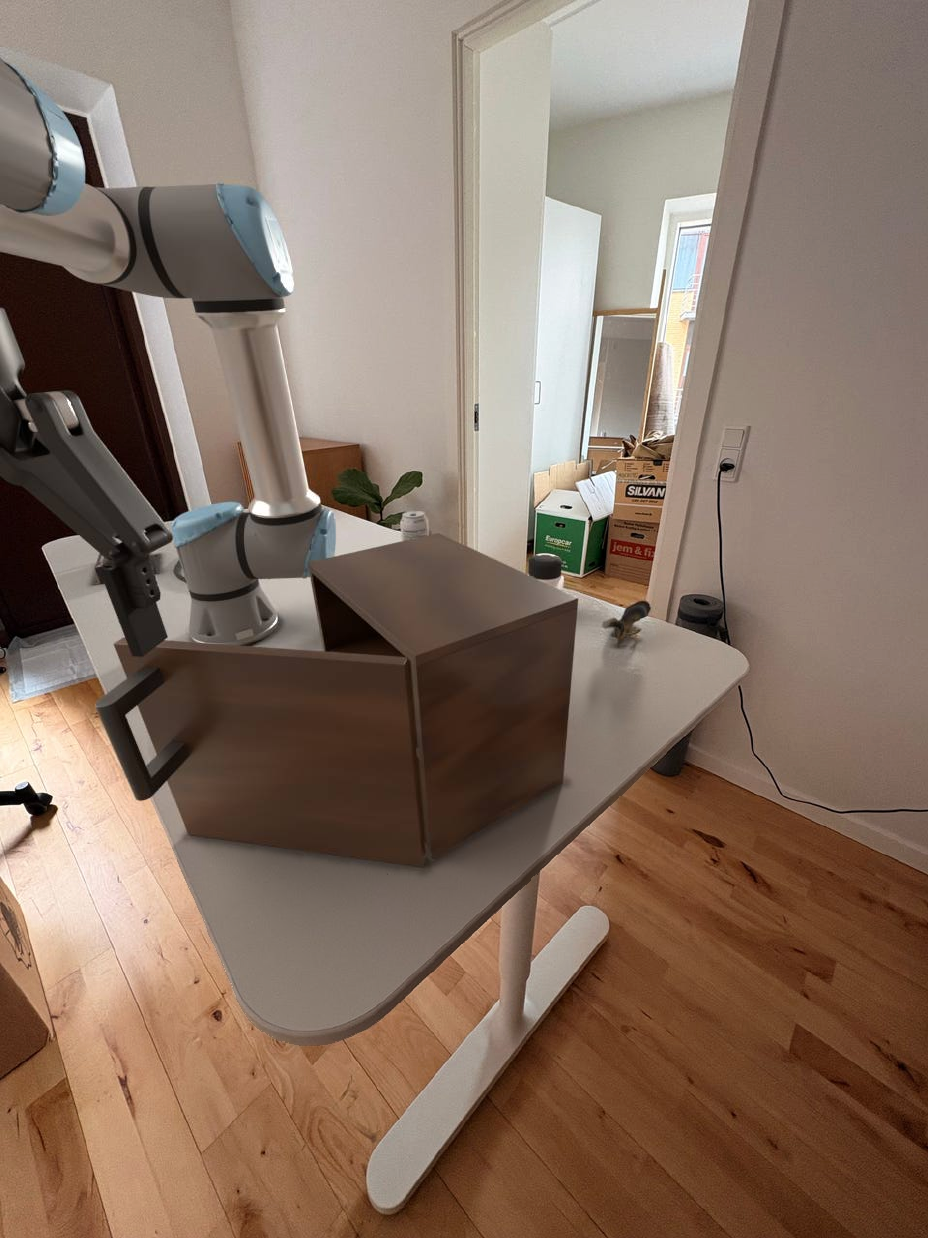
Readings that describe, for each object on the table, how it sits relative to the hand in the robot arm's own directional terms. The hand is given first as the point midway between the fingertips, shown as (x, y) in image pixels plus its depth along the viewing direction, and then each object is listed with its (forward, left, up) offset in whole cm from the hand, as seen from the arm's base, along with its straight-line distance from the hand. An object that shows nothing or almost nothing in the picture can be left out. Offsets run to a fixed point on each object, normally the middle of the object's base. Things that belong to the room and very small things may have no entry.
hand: (65, 642), depth 37 cm
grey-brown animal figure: (-7, +73, -28) cm, 79 cm away
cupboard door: (+5, +10, -27) cm, 30 cm away
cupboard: (-1, +31, -28) cm, 42 cm away
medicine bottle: (-22, +67, -28) cm, 76 cm away
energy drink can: (-53, +57, -28) cm, 83 cm away
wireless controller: (-105, +3, -28) cm, 109 cm away
